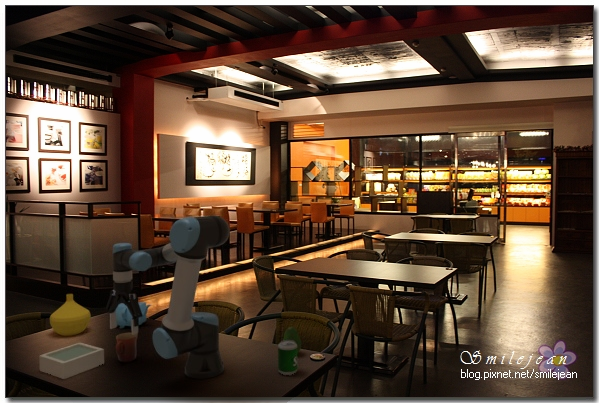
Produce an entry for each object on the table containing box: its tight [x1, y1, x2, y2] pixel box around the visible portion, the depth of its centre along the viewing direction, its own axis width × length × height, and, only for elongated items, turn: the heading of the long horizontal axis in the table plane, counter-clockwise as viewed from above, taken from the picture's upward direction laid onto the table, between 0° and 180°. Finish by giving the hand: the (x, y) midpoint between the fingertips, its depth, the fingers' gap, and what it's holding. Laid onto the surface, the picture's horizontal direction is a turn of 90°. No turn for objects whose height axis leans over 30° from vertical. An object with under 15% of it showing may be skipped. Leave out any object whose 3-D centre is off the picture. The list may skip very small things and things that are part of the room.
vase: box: [49, 293, 92, 337], centre depth 247 cm, size 18×18×19 cm
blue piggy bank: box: [115, 301, 152, 330], centre depth 257 cm, size 18×16×13 cm
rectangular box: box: [38, 342, 105, 380], centre depth 203 cm, size 16×18×6 cm
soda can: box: [277, 340, 298, 376], centre depth 196 cm, size 8×8×12 cm
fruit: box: [282, 326, 302, 354], centre depth 215 cm, size 8×8×12 cm
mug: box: [115, 332, 139, 363], centre depth 209 cm, size 12×9×10 cm
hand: (123, 330), depth 209 cm, fingers open, 13 cm apart
